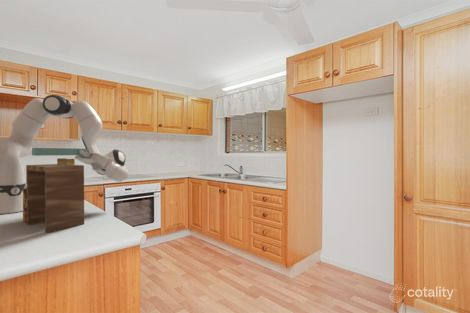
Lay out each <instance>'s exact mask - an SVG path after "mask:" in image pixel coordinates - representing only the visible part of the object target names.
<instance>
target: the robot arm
mask: <svg viewBox="0 0 470 313" xmlns="http://www.w3.org/2000/svg"><path fill="white" fill-rule="evenodd" d="M51 116H54V117H57V118H62V119H72V118H74V120H75V121H76V123H77V124H78V125H79V128H80V130H81V140H82V143H83V146H84V149H89V153H88V152H85V151H83V150H79V151H78V153H79V154H82V155H74V159H75V160H77V161H79V162H80V163H83V164H85V165H89V166H91V168H92V170H93V171H94V172H95V173H97V174H99V175H102V176H106V177H107V179H110V180H113V181H115V182H119V183H120V182H123V181H125V180H126V179H127V178H128V176H129V174H130V172H129V170H128V168H127V166H126V155H125V153H124V152H123V151H121V150H120V149H112V150H110V151H109V152H108V153H106V154H105V155H103V154H101V152H100V151H99V149H98V147H97V139H98V137H99V135H100V134H101V132H102V130H103V125H104V124H103V121H102V119H101V117H100V116H99V114H98V113H97V112H96V110H95V108H93V107H92V106H91V105H90V104H89V102H87V101H85V100H78V101H75V102H73V101H72V100H70V99H68V98H66V97H65V96H64V97H63V96H61V95H58V94H50V95H47V96H45V97H44V98H41V97H36V98H33V99H31V101H29V102H28V103H27V104H26V105H25V106H24V107H23V108H22V110H21V111H20V112H19V113H18V115H17V116H16V118H15V119H14V120H13V121H12V123H11V127H12V129H11V133H10V135H9V136H0V215H1V214H5V215H6V214H14V213H19V212H23V189H24V188H26V180H25V179H26V175H25V174H26V170H25V168H24V167H23V165H22V164H21V160H20V158H23V157H26V156H28V155H30V154H32V148H33V146H32V145H33V143H34V140H35V138H36V136H37V134H38V133H39V131H40V130H41V128H42V127H43V126H44V124H45V123H46V122H47V120H48V118H50V117H51Z"/></svg>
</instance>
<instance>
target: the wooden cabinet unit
mask: <svg viewBox="0 0 470 313" xmlns="http://www.w3.org/2000/svg"><path fill="white" fill-rule="evenodd" d="M56 159H57V160H56V161H57V162H56V163H52V164H51V163H49V164H47V163H46V164H26V165H25V169H26V170H25V174H26V175H25V179H26V180H25V184H26V190H27V222H26V225H27V226H29V225H34V224H40V223H41V224H42V223H44V224H45V226H44V227H45V228H44V232H45V233H52V232H56V231H57V232H58V231H61V230H64V229H65V230H66V229H69V228H73V227H74V228H75V227H77V226H82V225H85V165H82V164H75V160H76V159H75V158H64V157H63V158H56Z"/></svg>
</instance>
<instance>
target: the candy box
mask: <svg viewBox="0 0 470 313" xmlns="http://www.w3.org/2000/svg"><path fill="white" fill-rule="evenodd" d="M22 222H23V223H25V222H26V223H27V190H26V188H24V189H23V211H22Z"/></svg>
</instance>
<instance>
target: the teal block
mask: <svg viewBox="0 0 470 313" xmlns="http://www.w3.org/2000/svg"><path fill="white" fill-rule="evenodd" d="M79 150H83V151H85V152H88V153H89V149H86V148H75V147H74V148H68V147H67V148H66V147H65V148H64V147H63V148H62V147H61V148H60V147H59V148H57V147H56V148H55V147H54V148H53V147H50V148H49V147H32V151H31V156H37V157H38V156H39V157H40V156H76V155H82V154H79V153H78V151H79Z"/></svg>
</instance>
